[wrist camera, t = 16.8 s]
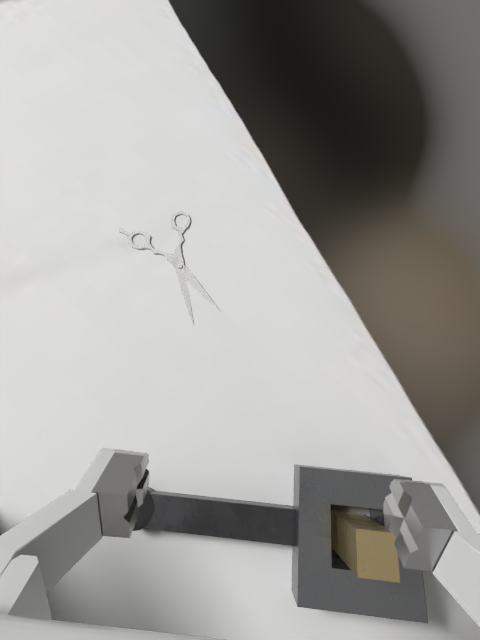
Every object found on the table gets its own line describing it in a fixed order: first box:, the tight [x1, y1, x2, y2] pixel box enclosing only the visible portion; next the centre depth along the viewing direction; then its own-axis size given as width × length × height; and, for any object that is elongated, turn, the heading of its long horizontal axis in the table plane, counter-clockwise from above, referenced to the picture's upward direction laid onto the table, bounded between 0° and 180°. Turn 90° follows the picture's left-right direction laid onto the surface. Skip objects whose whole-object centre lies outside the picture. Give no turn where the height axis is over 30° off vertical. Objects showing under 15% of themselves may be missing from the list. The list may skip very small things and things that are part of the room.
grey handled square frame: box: [133, 465, 428, 623], centre depth 30 cm, size 11×29×4 cm, turn 85°
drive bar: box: [331, 510, 400, 583], centre depth 28 cm, size 3×3×8 cm
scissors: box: [119, 211, 219, 325], centre depth 44 cm, size 11×1×20 cm
